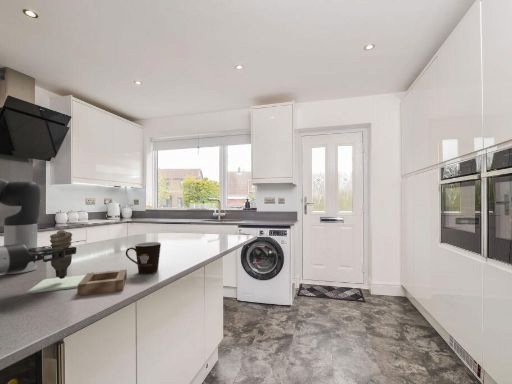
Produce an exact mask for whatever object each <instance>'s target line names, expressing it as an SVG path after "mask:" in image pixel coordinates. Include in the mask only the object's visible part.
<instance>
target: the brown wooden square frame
mask: <svg viewBox="0 0 512 384" xmlns="http://www.w3.org/2000/svg"><path fill="white" fill-rule="evenodd" d="M127 272H128V271H127V269H120V270H119V269H118V270H108V271H97V272H90V273H89V272H88V273H86V274H85V275H86V276H85V277H84V278H83V279H82V280H81V282H80V283H79V284H78V288H77V297H80V296H87V295H89V296H90V295H95V294H105V293H113V292H120V291H124V287H125V285H126V282H127V280H128V279H127V277H128V276H127V274H128V273H127Z"/></svg>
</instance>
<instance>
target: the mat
mask: <svg viewBox="0 0 512 384" xmlns="http://www.w3.org/2000/svg"><path fill="white" fill-rule="evenodd" d="M86 275H87V274H85V275H75V276H72V275H71V276H65V278H63V279H60V278H59V277H54V278H44V279H43V280H41V281H40V282H38V283H37V284H36V285H35V286H33V287H31V288H30V289H29V290H27V294H35V293H43V292H51V291H59V290H68V289H69V290H71V289H78V284H79V283H80V282H81V280H82V279H83V278H84V277H85V276H86Z"/></svg>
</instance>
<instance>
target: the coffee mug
mask: <svg viewBox="0 0 512 384" xmlns="http://www.w3.org/2000/svg"><path fill="white" fill-rule="evenodd" d="M161 247H162V243H161V242H158V241H145V242H139V243H136V244H134V247H128V248H127V249H126V251H125V256H126V258H127V259H129V260H130V261H131V262H132V263H134V264H136V265H137V272H138V274H139V275H152V274H156V273H158V271H159V264H160V253H161ZM130 250H133V251H134V252H135V255H136V260H134V259H133V258H131V257H130V255H129V254H128V252H129V251H130Z"/></svg>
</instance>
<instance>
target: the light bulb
mask: <svg viewBox="0 0 512 384" xmlns="http://www.w3.org/2000/svg"><path fill="white" fill-rule="evenodd" d="M72 237H73V233H72V232H70V231H66V230H63V229H59V230H57V232H56V233H52V234H50V236H49V242H50V243H51V244H50V247H51V248H54V249H60V248H69V247H72V240H73V238H72ZM58 255H59V252H58ZM72 258H73V254H72V255H66V256H65V258H61V259H57V260H52V261H50V266H51V267H52V268H53V269H54V270H55V278H60V279H63V278H65V277H68V276H67V275H68V268H69V267H70V265H71V264H72V262H73V261H72V260H73V259H72Z"/></svg>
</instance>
